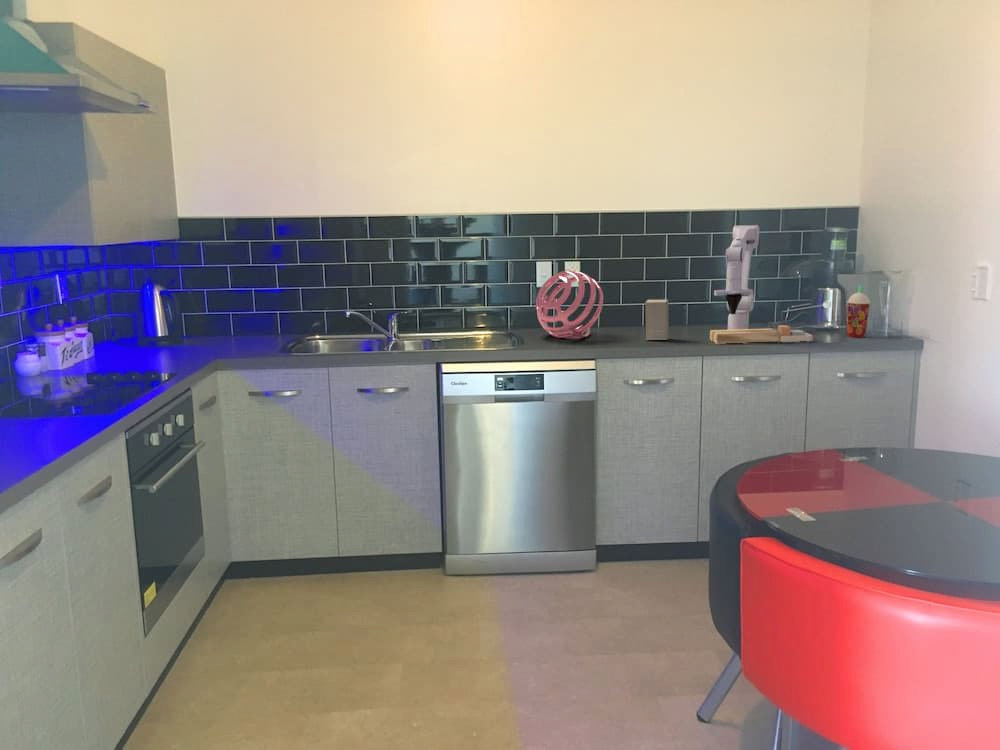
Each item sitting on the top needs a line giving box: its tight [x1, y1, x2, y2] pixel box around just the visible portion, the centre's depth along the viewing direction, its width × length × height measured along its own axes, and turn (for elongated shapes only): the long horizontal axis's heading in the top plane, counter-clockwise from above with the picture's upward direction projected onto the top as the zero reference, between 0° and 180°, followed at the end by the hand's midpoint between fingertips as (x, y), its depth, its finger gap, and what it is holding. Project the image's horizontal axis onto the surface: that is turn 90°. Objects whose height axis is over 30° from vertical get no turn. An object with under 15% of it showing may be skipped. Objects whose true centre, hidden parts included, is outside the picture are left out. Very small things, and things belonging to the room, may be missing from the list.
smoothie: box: [846, 285, 871, 339], centre depth 327 cm, size 8×8×20 cm
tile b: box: [790, 329, 806, 336], centre depth 324 cm, size 5×5×3 cm
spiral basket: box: [535, 270, 604, 340], centre depth 338 cm, size 28×28×27 cm
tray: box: [779, 332, 814, 343], centre depth 324 cm, size 11×12×2 cm
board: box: [709, 328, 780, 345], centre depth 323 cm, size 9×24×4 cm, turn 93°
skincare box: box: [644, 299, 670, 341], centre depth 328 cm, size 8×7×16 cm
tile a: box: [777, 324, 792, 339], centre depth 323 cm, size 5×5×3 cm
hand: (732, 313), depth 323 cm, fingers closed
